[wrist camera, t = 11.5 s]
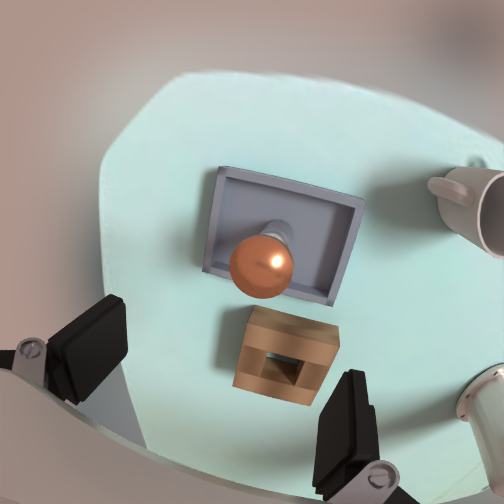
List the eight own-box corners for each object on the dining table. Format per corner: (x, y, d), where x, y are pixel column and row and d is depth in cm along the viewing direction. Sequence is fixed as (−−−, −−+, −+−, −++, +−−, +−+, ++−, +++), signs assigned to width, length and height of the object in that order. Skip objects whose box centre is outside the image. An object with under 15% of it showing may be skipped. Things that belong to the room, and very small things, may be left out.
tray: (361, 198, 26) (365, 202, 24) (331, 296, 30) (332, 306, 28) (226, 165, 28) (218, 166, 26) (210, 263, 32) (202, 271, 30)
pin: (305, 218, 28) (300, 247, 18) (294, 259, 29) (283, 305, 20) (261, 207, 28) (235, 230, 19) (253, 248, 30) (224, 288, 20)
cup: (475, 240, 24) (518, 268, 16) (405, 212, 26) (439, 234, 18) (492, 180, 22) (540, 191, 14) (422, 146, 23) (463, 142, 15)
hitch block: (338, 326, 31) (340, 346, 27) (311, 385, 35) (310, 406, 31) (255, 304, 33) (247, 322, 29) (240, 366, 36) (232, 386, 32)
